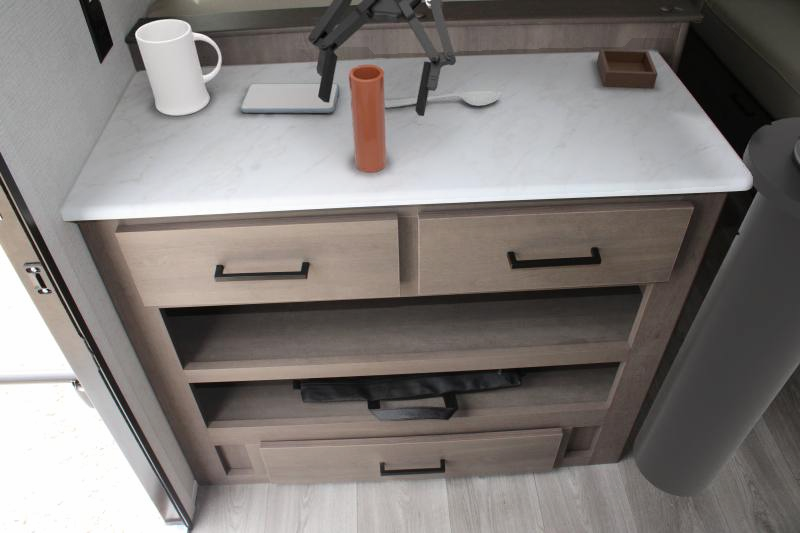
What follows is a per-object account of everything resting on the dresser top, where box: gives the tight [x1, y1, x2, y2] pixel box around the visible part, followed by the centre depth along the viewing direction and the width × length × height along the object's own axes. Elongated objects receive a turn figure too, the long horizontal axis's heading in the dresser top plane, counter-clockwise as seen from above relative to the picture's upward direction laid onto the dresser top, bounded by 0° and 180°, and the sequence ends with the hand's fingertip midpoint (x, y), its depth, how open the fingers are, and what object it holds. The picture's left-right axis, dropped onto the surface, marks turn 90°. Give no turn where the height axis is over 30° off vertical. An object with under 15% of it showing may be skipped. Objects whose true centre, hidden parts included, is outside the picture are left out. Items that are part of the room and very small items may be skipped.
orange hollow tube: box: [348, 64, 387, 174], centre depth 85 cm, size 4×4×14 cm
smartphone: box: [239, 82, 340, 114], centre depth 102 cm, size 8×1×15 cm
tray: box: [596, 48, 658, 89], centre depth 107 cm, size 8×8×3 cm
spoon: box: [385, 90, 502, 109], centre depth 101 cm, size 4×21×2 cm, turn 92°
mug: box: [134, 18, 223, 117], centre depth 99 cm, size 12×8×12 cm
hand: (370, 106), depth 85 cm, fingers open, 13 cm apart
